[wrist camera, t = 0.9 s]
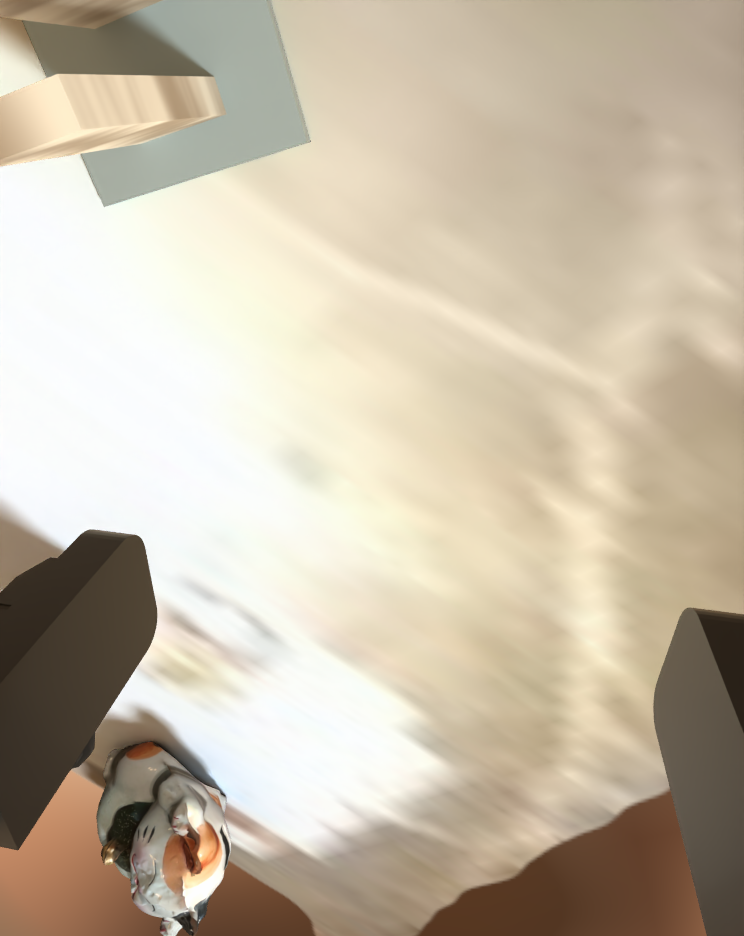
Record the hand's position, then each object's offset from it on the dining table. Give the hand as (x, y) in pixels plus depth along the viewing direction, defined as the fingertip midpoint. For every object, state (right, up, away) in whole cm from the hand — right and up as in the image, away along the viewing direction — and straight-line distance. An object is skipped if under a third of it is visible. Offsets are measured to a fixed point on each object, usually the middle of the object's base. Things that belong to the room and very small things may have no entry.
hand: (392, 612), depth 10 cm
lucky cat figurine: (-19, -29, +54) cm, 64 cm away
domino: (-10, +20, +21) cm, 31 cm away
